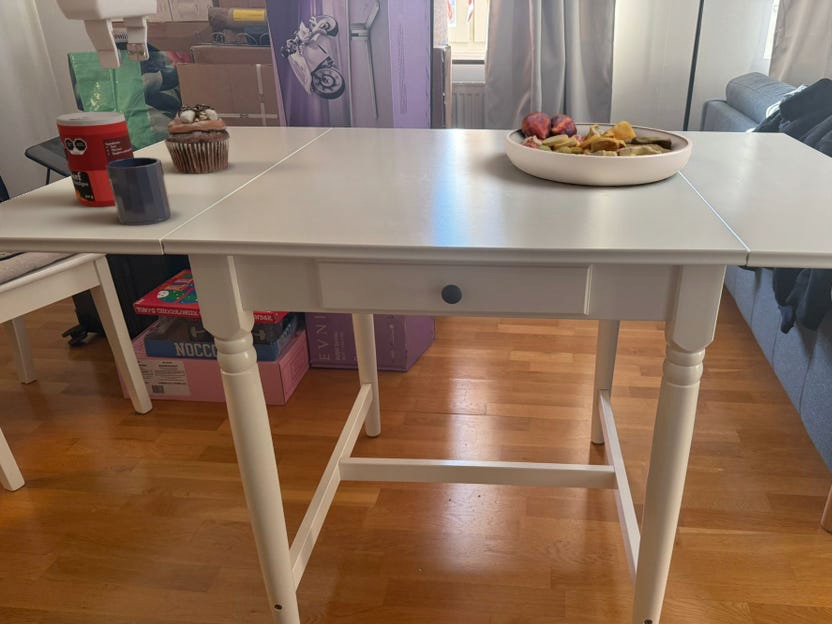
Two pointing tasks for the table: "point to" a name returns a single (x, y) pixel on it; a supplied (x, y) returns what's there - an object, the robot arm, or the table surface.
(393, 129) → the table surface
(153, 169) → the pot
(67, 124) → the canned food
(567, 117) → the bowl
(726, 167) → the table surface
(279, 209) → the table surface
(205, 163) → the cupcake
